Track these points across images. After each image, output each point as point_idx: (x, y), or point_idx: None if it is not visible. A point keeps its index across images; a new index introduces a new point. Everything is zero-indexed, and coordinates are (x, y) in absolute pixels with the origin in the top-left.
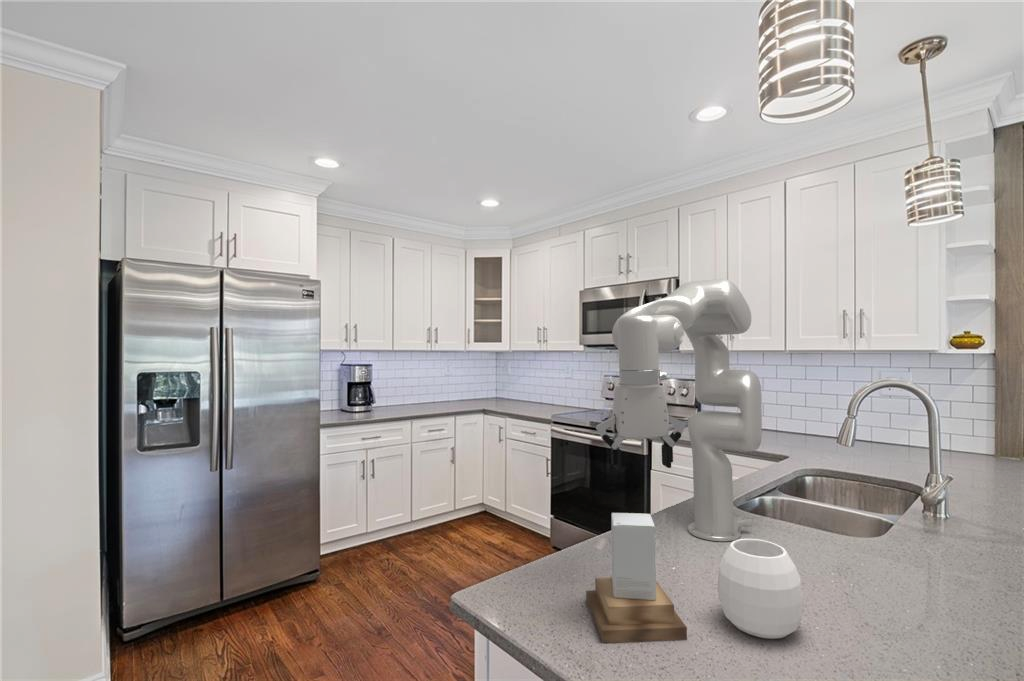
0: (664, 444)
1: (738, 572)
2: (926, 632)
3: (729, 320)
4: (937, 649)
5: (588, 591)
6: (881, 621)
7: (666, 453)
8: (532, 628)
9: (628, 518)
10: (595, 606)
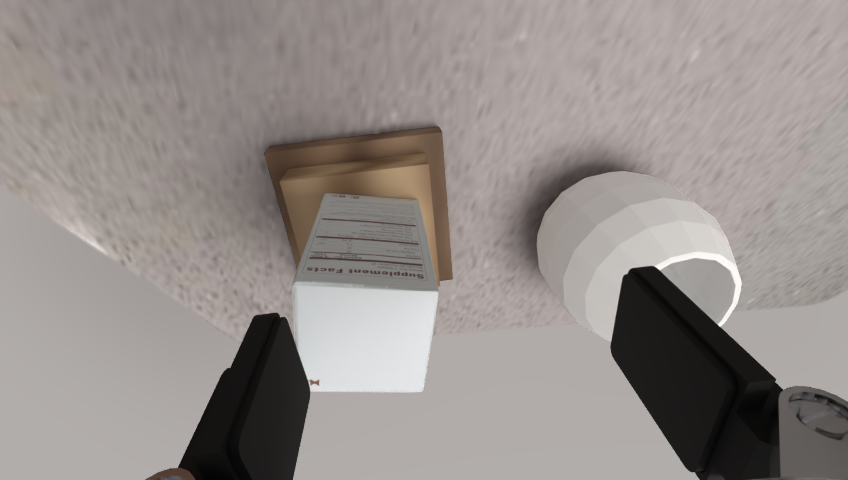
0: (735, 441)
1: (585, 323)
2: (831, 225)
3: None
4: (793, 266)
5: (270, 156)
6: (801, 197)
7: (664, 426)
8: (175, 253)
9: (351, 345)
10: (290, 223)
